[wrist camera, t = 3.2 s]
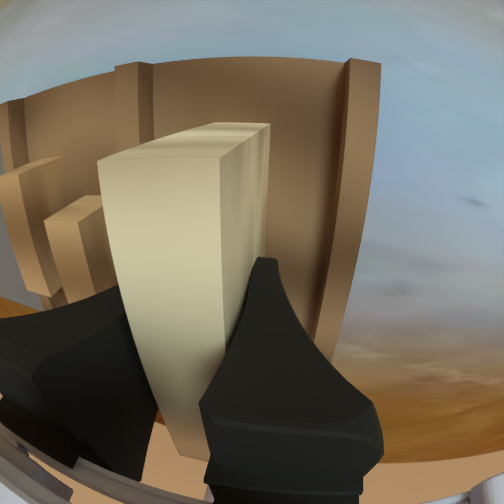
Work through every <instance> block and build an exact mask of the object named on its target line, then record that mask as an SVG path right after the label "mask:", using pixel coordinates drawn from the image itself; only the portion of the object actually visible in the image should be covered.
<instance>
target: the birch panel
mask: <svg viewBox="0 0 504 504" xmlns="http://www.w3.org/2000/svg"><path fill="white" fill-rule="evenodd" d="M269 149H270V124H266V123H232V122H215V123H211V124H207V125H203V126H200V127H196V128H193V129H189V130H185V131H182V132H179V133H175V134H172V135H169V136H165V137H162V138H159V139H156V140H153V141H150V142H147V143H144V144H141V145H138V146H135V147H132V148H130V149H127V150H124V151H121V152H119V153H116V154H113V155H111V156H108V157H106V158H103V159H101V160H98V161H97V166H98V175H99V183H100V190H101V197H102V204H103V210H104V216H105V222H106V228H107V233H108V238H109V243H110V248H111V253H112V258H113V262H114V267H115V271H116V276H117V280H118V284H119V288H120V292H121V296H122V299H123V303H124V307H125V311H126V314H127V318H128V321H129V324H130V328H131V331H132V334H133V338H134V341H135V344H136V347H137V350H138V353H139V356H140V359H141V362H142V365H143V368H144V371H145V373H146V376H147V379H148V382H149V384H150V387H151V390H152V392H153V395H154V397H155V400H156V403H157V405H158V407H159V410H160V412H161V415H162V417H163V420H164V422H165V424H166V426H167V429H168V431H169V433H170V435H171V437H172V440H173V442H174V444H175V446H176V448H177V451H178V452H179V454H180V455H182V456H186V457H190V458H194V459H198V460H203V461H207V462H209V458H210V451H209V447H208V443H207V439H206V435H205V431H204V426H203V422H202V418H201V413H200V409H199V404H198V402H199V400H200V399H201V397H202V396H203V394H204V393H205V391H206V389H207V388H208V386H209V384H210V382H211V381H212V379H213V377H214V375H215V374H216V372H217V370H218V368H219V366H220V364H221V362H222V360H223V358H224V356H225V354H226V352H227V350H228V348H229V346H230V344H231V341H232V339H233V337H234V334H235V332H236V330H237V327H238V325H239V322H240V319H241V317H242V314H243V311H244V309H245V305H246V301H247V295H248V289H249V282H250V276H251V270H252V267H253V265H254V263H255V260H256V259H257V257H265V241H266V220H267V198H268V174H269Z"/></svg>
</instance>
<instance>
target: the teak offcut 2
mask: <svg viewBox="0 0 504 504" xmlns="http://www.w3.org/2000/svg"><path fill="white" fill-rule="evenodd" d="M44 224H45V228H46V232H47V236H48V240H49V243H50V247H51V251H52V254H53V258H54V261H55V264H56V268H57V271H58V274H59V277H60V280H61V283H62V286H63V289H64V292H65V295H66V298H67V300H68V303H69V304H70V303H73V302H76V301H79V300H82V299H85V298H88V297H90V296H93V295H95V294H97V293H100V292H102V291H104V290H107V289H109V288H111V287H113V286H115V285H117V284H118V280H117V276H116V271H115V267H114V262H113V258H112V253H111V248H110V243H109V238H108V233H107V228H106V222H105V216H104V210H103V204H102V197H101V195H85V196H84V197H82V198H80V199H78V200H77V201H75V202H73V203H71V204H70V205H68V206H66V207H65V208H63V209H61V210H60V211H58V212H57V213H55V214H53V215H52V216H50V217H49V218H47V219H45V220H44Z"/></svg>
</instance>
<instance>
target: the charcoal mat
mask: <svg viewBox="0 0 504 504" xmlns="http://www.w3.org/2000/svg"><path fill="white" fill-rule="evenodd" d="M3 174H5V172H4V165H3V158H2V150H1V141H0V175H3ZM0 296H1V297H4V298H6V299H9V300H11V301H14V302H17V303H20V304H22V305H25V306H28V307H31V308H34V309H37V310H39V311H45V310H44V308H43V305H42V303H41V301H40V298H39V296H38V293H35V292H31V291H28V290H27V288H26V286H25V283H24V280H23V278H22V275H21V272H20V269H19V266H18V263H17V260H16V257H15V254H14V251H13V248H12V245H11V241H10V238H9V234H8V231H7V227H6V223H5V219H4V215H3V211H2V207H1V202H0Z"/></svg>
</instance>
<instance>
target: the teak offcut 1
mask: <svg viewBox="0 0 504 504" xmlns="http://www.w3.org/2000/svg"><path fill="white" fill-rule="evenodd" d="M0 202H1V207H2V211H3V215H4V219H5V223H6V227H7V231H8V234H9V238H10V241H11V245H12V248H13V251H14V254H15V257H16V260H17V263H18V266H19V269H20V272H21V275H22V278H23V280H24V283H25V286H26V288H27V290H28V291H31V292H35V293H38V294H41V295H45V296H49V297H52V296H53V295H54V294H55V293H56V292H57V291H58V290H59V289H60V288H61V287H62V283H61V280H60V277H59V274H58V271H57V268H56V264H55V261H54V258H53V254H52V251H51V247H50V243H49V240H48V236H47V232H46V228H45V224H44V220H45V219H47V218H49V217H50V216H52V215H53V214H55V213H57V212H58V211H60V210H61V209H63V208H65V207H66V206H68V205H70V203H69V197H68V192H67V185H66V179H65V172H64V164H63V156H62V157H54V158H46V159H39V160H36V161H33V162H31V163H28V164H26V165H23V166H21V167H19V168H16V169H14V170H12V171H9V172H7V173H5V174H3V175H0Z"/></svg>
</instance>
